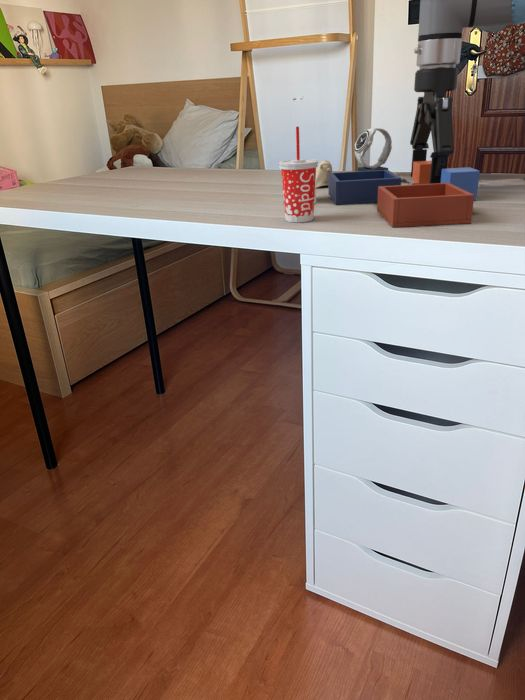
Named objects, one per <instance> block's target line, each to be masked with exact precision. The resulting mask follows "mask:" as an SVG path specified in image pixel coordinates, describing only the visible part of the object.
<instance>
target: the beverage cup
mask: <svg viewBox="0 0 525 700" xmlns="http://www.w3.org/2000/svg"><path fill="white" fill-rule="evenodd" d="M295 143H296V144H295V145H296V147H295V148H296V158H295V159H287V160H281V161H279V162H278V166H279V167H278V168H279V169H280V172H281V184H282V195H283V205H284V218H285V221H286V222H288V223H306V222H307V223H308V222H311V221H313V220H314V219H315V218H314V217H315V216H314V214H315V203H314V198H315V178H316V170H317V167H318V164H319V161H318V159H314V158H301V156H300V155H301V154H300V151H301V150H300V126H295Z"/></svg>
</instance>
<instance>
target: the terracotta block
mask: <svg viewBox="0 0 525 700" xmlns="http://www.w3.org/2000/svg"><path fill="white" fill-rule="evenodd" d="M431 162H432V160H426V161H415V162H413V175H412V177H411V179H412V180H411V181H412V182H413V183H411V185H415V184H430V173H431Z"/></svg>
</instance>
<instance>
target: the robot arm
mask: <svg viewBox="0 0 525 700" xmlns="http://www.w3.org/2000/svg"><path fill="white" fill-rule="evenodd" d="M418 18H419V19H418V35H417V37H418V38H417V47H415V48H414V49H413V53H414V54H416V63H415V64H416V67H419V69H417V70H416V71H415V75H414V87H413V90H414V92H415V93H423V96H418V98H417V103H416V104H417V106H416V111H415V115H414V116H415V117H414V121H413V127H412V131H411V137H410V141H409V144H410V146H411V147H412V154H411V155H412V157H411V169H410V178H412V175H413V162H415V161H427V155H428V149H429V148H430V147H429V143H428V141H429V139H430V134H431V142H432V149H433V151H432V152H431V154H430V156H429V158H431V161H432V162H431V173H430V184H433V183H441V173H442V169H446V168H448V162H449V157H450V155H453V154H454V152H455V151H454V131H453V100H454V99H453V97H452V96H447V92H454V91H455V90H456V89H457V87H458V79H459V78H458V77H459V69H458V68H457V67H456V66H457V65H459V64H460V63H461V54H462V53H461V52H462V42H463V31H464V28H468V29H469V28H478V29H480V30H481V31H482V32H485V33H488V34H494V33H499V32H501V31H503V30H505V29H506V28H507V27H508V26H510V25H514V26H520V25H521V24H525V0H420V2H419V17H418Z"/></svg>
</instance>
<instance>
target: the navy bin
mask: <svg viewBox="0 0 525 700" xmlns="http://www.w3.org/2000/svg"><path fill="white" fill-rule="evenodd" d="M396 185H402V177H401V176H398V175H397V174H395V173H394V172H392V171H390V170H389V169H388V170H371V171H358V170H354V171H352V170H351V171H335V172H332V173H329V177H328V186H327V188H328V193H327V194H328V196H329V197H330V199H331V200H332V201H333V203H334V205H335V206H343V205H345V206H346V205H362V204H363V203H365V204H377V201H378V187H379V186H396ZM363 205H364V204H363Z"/></svg>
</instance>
